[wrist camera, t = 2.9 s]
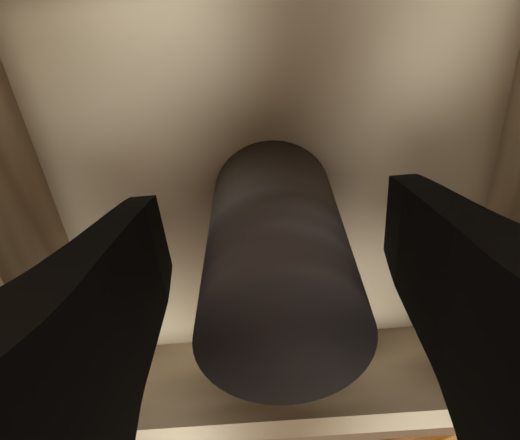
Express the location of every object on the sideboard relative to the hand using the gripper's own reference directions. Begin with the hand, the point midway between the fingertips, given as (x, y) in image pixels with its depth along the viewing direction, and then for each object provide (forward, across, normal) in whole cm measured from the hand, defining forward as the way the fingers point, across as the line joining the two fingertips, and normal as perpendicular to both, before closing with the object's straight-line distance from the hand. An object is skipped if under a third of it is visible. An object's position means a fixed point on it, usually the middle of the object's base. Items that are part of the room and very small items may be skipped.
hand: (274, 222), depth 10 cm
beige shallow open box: (+2, 0, 0) cm, 2 cm away
